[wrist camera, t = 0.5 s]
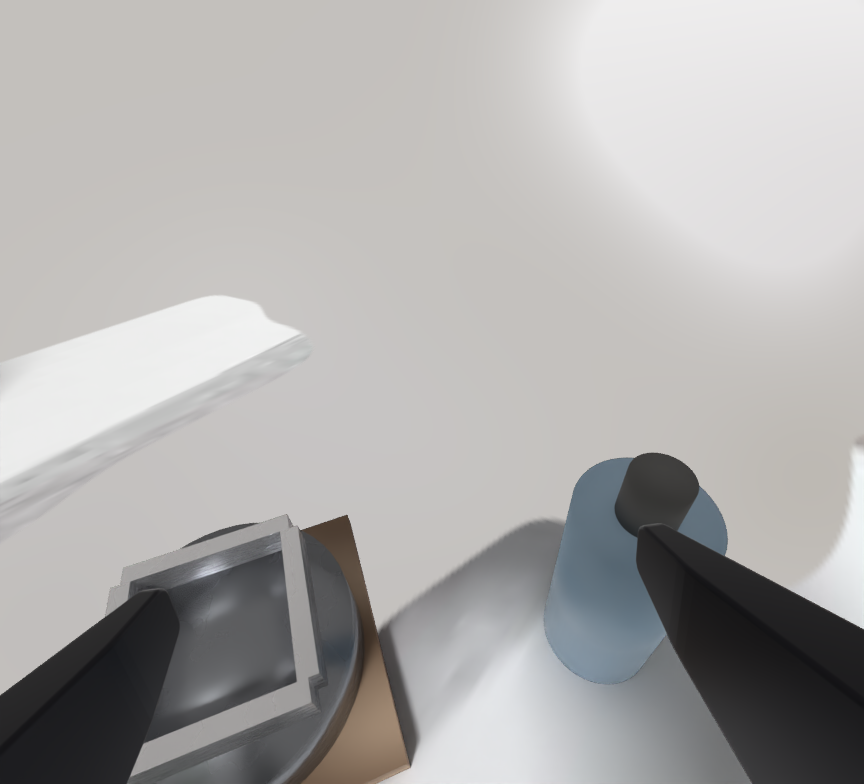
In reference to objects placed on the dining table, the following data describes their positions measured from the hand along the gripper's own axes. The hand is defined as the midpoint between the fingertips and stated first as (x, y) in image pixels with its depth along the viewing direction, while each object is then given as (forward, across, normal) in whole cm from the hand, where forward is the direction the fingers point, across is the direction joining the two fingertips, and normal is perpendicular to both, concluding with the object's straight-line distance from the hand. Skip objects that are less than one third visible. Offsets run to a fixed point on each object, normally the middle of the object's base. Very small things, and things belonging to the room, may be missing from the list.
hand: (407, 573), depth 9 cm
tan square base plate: (+9, +9, +13) cm, 18 cm away
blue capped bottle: (+9, -8, +13) cm, 18 cm away
